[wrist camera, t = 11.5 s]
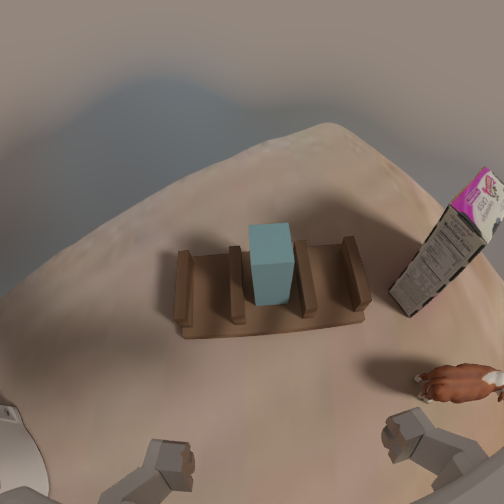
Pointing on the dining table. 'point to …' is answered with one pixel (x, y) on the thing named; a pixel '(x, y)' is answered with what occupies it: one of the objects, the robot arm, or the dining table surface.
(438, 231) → the candy bar box
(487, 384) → the bull figurine
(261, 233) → the teal rectangular block
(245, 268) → the rack
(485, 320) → the dining table surface
